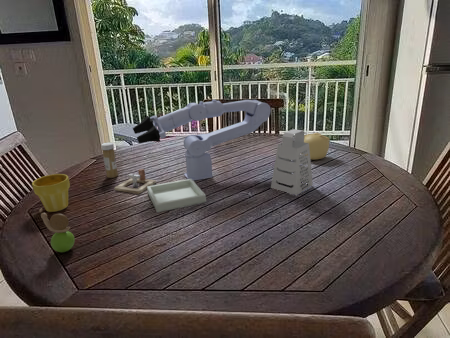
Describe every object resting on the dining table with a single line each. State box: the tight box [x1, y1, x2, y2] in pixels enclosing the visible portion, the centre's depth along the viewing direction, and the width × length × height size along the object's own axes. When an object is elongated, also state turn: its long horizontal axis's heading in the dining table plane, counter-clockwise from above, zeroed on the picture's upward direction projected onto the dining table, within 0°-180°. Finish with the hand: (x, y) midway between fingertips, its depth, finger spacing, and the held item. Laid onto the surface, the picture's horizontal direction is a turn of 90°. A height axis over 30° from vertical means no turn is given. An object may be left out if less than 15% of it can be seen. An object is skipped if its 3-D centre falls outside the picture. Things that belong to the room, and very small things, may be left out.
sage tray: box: [146, 178, 207, 213], centre depth 112 cm, size 16×16×2 cm
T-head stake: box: [127, 173, 141, 188], centre depth 122 cm, size 4×2×4 cm, turn 67°
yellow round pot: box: [302, 132, 330, 161], centre depth 144 cm, size 12×12×11 cm
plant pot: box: [31, 173, 71, 213], centre depth 107 cm, size 10×10×10 cm
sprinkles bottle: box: [100, 141, 119, 179], centre depth 131 cm, size 5×5×13 cm
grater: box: [270, 128, 314, 195], centre depth 114 cm, size 10×10×20 cm
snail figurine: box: [38, 208, 75, 253], centre depth 83 cm, size 5×6×12 cm
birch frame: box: [114, 168, 157, 195], centre depth 122 cm, size 10×10×5 cm
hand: (135, 135), depth 117 cm, fingers open, 7 cm apart
